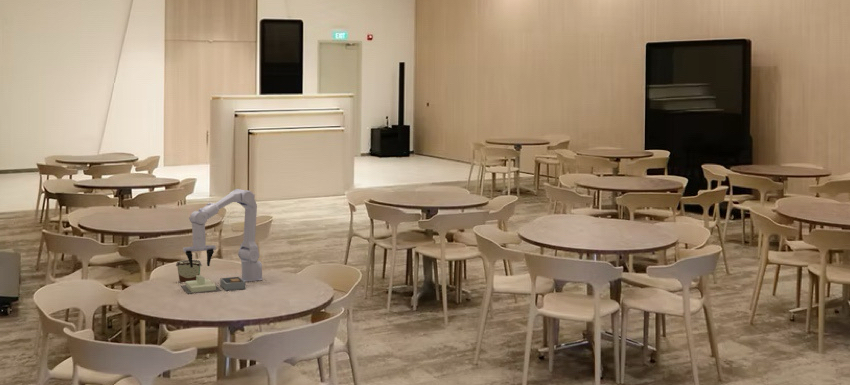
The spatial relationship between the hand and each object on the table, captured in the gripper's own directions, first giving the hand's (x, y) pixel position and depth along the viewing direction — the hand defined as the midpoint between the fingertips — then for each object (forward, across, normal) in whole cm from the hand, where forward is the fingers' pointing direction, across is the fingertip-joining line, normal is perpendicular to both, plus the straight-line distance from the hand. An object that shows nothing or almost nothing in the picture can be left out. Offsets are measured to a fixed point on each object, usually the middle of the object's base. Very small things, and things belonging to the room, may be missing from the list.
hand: (199, 266), depth 429 cm
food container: (+11, -1, +18) cm, 21 cm away
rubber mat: (+10, 0, 0) cm, 10 cm away
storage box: (+10, +14, -4) cm, 18 cm away
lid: (+10, 0, 0) cm, 10 cm away
